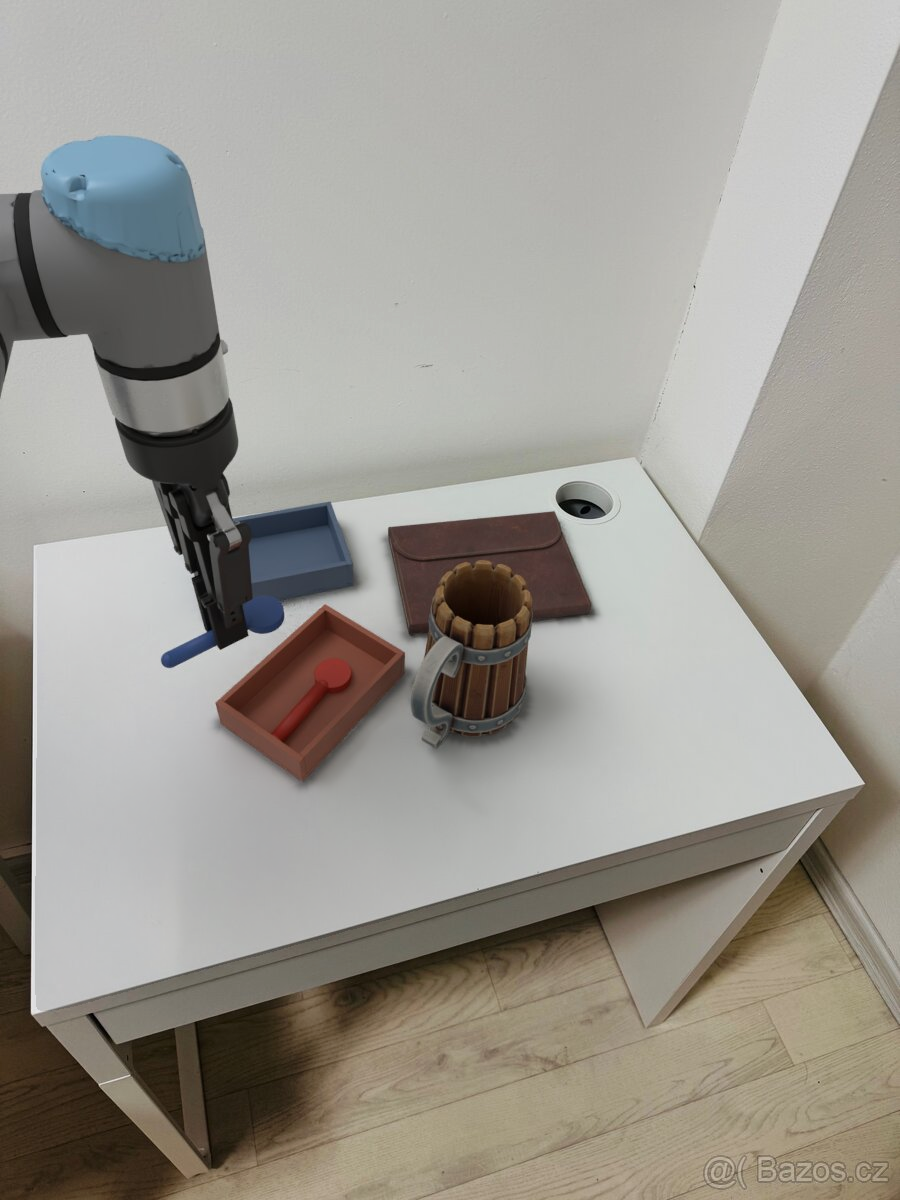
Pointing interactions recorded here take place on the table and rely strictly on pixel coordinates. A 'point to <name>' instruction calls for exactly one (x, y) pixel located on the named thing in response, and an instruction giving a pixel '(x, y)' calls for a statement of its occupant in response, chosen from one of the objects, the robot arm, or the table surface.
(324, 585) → the blue bin
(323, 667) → the red spoon
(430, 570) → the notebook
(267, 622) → the blue spoon
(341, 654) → the red bin
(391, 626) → the table surface
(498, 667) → the mug
